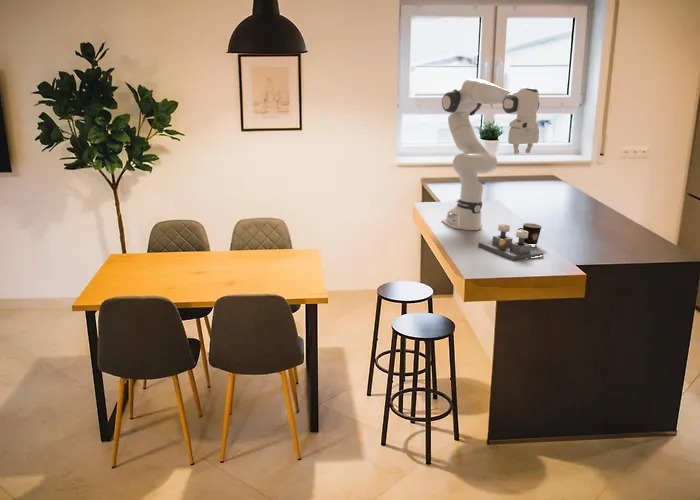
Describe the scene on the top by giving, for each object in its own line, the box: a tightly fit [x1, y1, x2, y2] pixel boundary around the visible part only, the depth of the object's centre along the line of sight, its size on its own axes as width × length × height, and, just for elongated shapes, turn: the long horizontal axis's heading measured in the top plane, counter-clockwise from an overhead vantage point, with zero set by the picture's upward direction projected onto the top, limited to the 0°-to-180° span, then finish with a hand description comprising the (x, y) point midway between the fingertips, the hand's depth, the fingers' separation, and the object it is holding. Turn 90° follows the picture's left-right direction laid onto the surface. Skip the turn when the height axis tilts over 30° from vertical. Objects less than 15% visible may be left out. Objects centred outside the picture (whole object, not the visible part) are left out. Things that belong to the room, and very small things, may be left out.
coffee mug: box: [517, 222, 542, 245], centre depth 348 cm, size 12×9×10 cm
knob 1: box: [497, 223, 511, 238], centre depth 337 cm, size 5×5×6 cm
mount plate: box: [477, 234, 544, 262], centre depth 334 cm, size 24×18×6 cm
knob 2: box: [515, 229, 528, 245], centre depth 328 cm, size 5×5×6 cm
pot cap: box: [499, 238, 506, 250], centre depth 331 cm, size 3×3×5 cm
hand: (522, 153), depth 335 cm, fingers open, 8 cm apart
